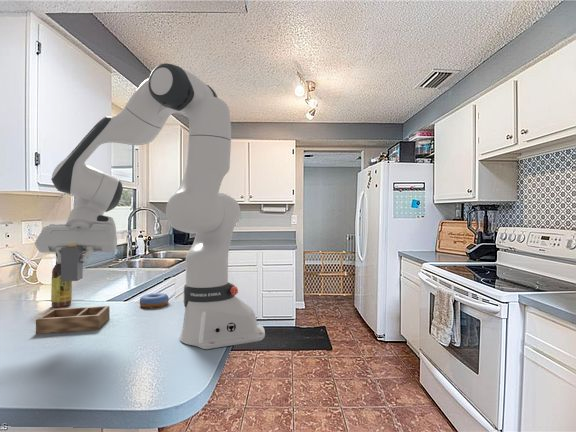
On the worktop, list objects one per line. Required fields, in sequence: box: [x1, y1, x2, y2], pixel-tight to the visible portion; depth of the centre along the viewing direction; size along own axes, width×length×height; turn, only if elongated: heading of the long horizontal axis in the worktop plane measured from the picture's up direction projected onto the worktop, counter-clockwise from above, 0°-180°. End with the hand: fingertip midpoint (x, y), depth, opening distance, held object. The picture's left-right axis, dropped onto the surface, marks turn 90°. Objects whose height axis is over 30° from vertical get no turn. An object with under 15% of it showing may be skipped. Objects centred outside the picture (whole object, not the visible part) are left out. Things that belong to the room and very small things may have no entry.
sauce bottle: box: [50, 252, 73, 308], centre depth 128 cm, size 7×6×20 cm
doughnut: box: [139, 292, 170, 309], centre depth 128 cm, size 10×10×5 cm
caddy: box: [35, 305, 111, 335], centre depth 105 cm, size 16×11×4 cm
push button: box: [61, 243, 84, 282], centre depth 96 cm, size 4×4×10 cm
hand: (71, 262), depth 96 cm, fingers closed on push button, 4 cm apart
